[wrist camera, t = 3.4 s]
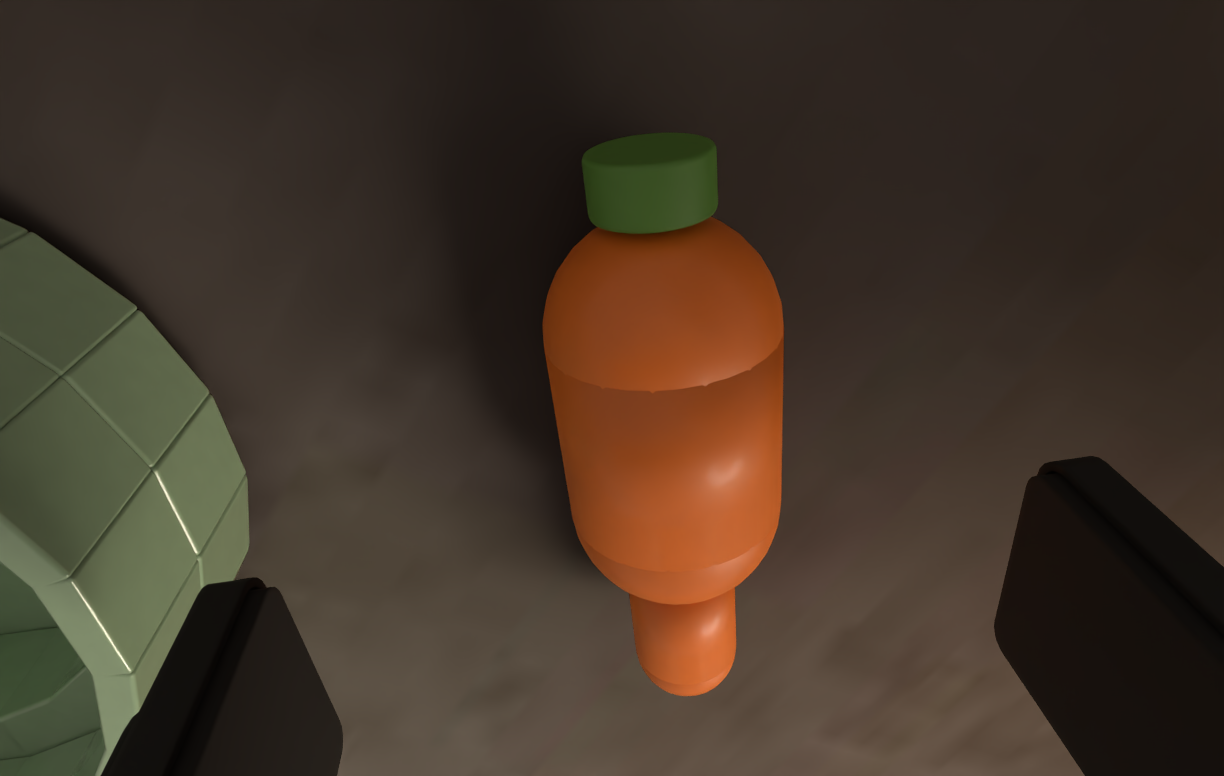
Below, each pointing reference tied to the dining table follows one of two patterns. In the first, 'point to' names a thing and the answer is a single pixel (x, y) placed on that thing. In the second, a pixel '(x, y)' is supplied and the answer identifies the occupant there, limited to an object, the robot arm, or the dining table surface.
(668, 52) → the dining table surface
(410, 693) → the dining table surface
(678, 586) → the carrot
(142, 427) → the bowl
